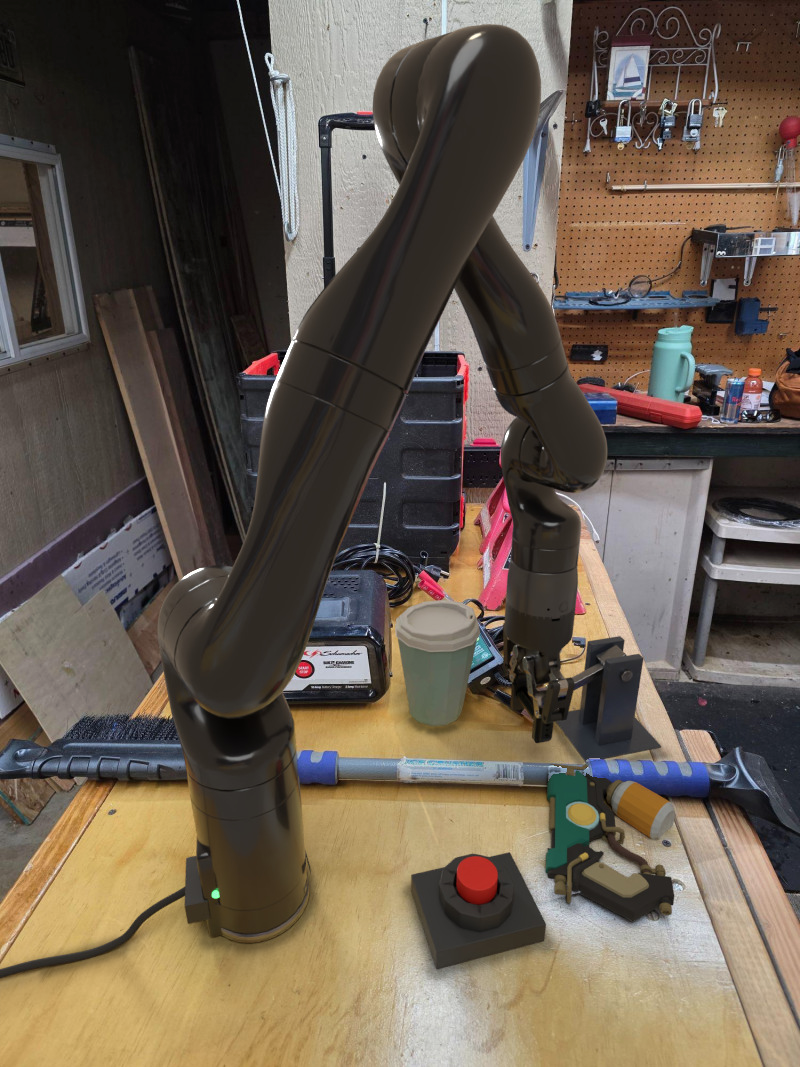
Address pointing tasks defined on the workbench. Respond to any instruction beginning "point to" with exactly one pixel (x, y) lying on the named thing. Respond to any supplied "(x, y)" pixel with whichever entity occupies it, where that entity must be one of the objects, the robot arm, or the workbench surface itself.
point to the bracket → (609, 707)
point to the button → (477, 880)
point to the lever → (578, 679)
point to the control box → (475, 914)
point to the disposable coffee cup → (437, 658)
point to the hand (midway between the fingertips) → (530, 723)
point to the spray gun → (588, 818)
